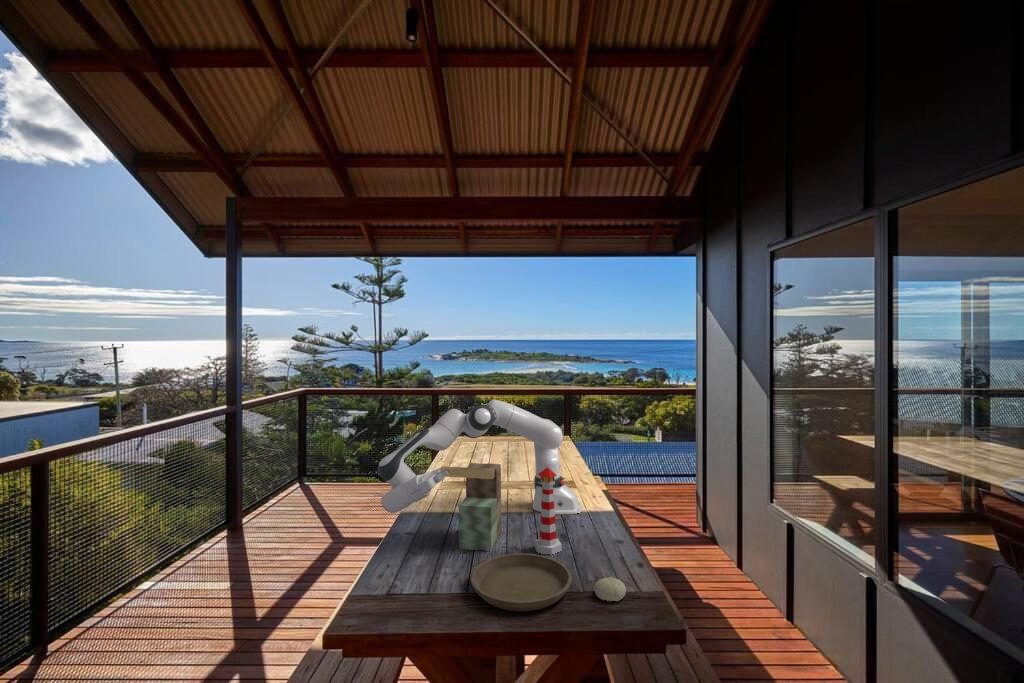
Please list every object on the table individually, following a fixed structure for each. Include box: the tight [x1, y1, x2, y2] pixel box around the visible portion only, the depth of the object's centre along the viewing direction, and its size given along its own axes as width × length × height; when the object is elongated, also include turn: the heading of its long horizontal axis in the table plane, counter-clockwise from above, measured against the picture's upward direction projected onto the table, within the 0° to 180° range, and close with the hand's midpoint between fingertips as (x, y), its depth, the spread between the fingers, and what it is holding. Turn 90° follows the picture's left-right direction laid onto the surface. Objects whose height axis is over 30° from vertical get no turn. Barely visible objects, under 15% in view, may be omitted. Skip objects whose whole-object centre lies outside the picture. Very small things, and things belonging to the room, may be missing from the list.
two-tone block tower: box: [458, 462, 502, 551], centre depth 196 cm, size 12×18×27 cm, turn 170°
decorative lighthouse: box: [533, 467, 563, 556], centre depth 187 cm, size 10×9×30 cm
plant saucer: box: [470, 553, 573, 612], centre depth 159 cm, size 31×31×5 cm
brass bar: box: [439, 465, 494, 479], centre depth 192 cm, size 20×3×3 cm, turn 80°
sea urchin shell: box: [593, 576, 627, 602], centre depth 154 cm, size 9×8×8 cm
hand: (449, 470), depth 194 cm, fingers closed on brass bar, 3 cm apart
